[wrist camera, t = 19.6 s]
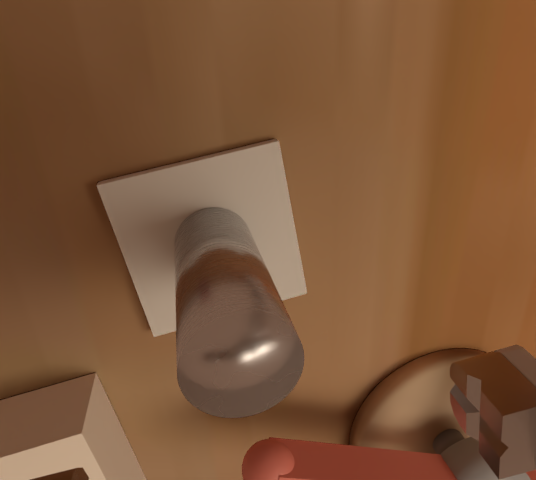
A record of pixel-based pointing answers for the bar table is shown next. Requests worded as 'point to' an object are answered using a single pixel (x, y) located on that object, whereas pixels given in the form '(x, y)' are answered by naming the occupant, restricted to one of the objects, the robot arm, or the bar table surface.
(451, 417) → the round tan disc
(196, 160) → the pad
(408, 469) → the pink rod with bead
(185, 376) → the hook peg
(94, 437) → the eye block
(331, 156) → the bar table surface
